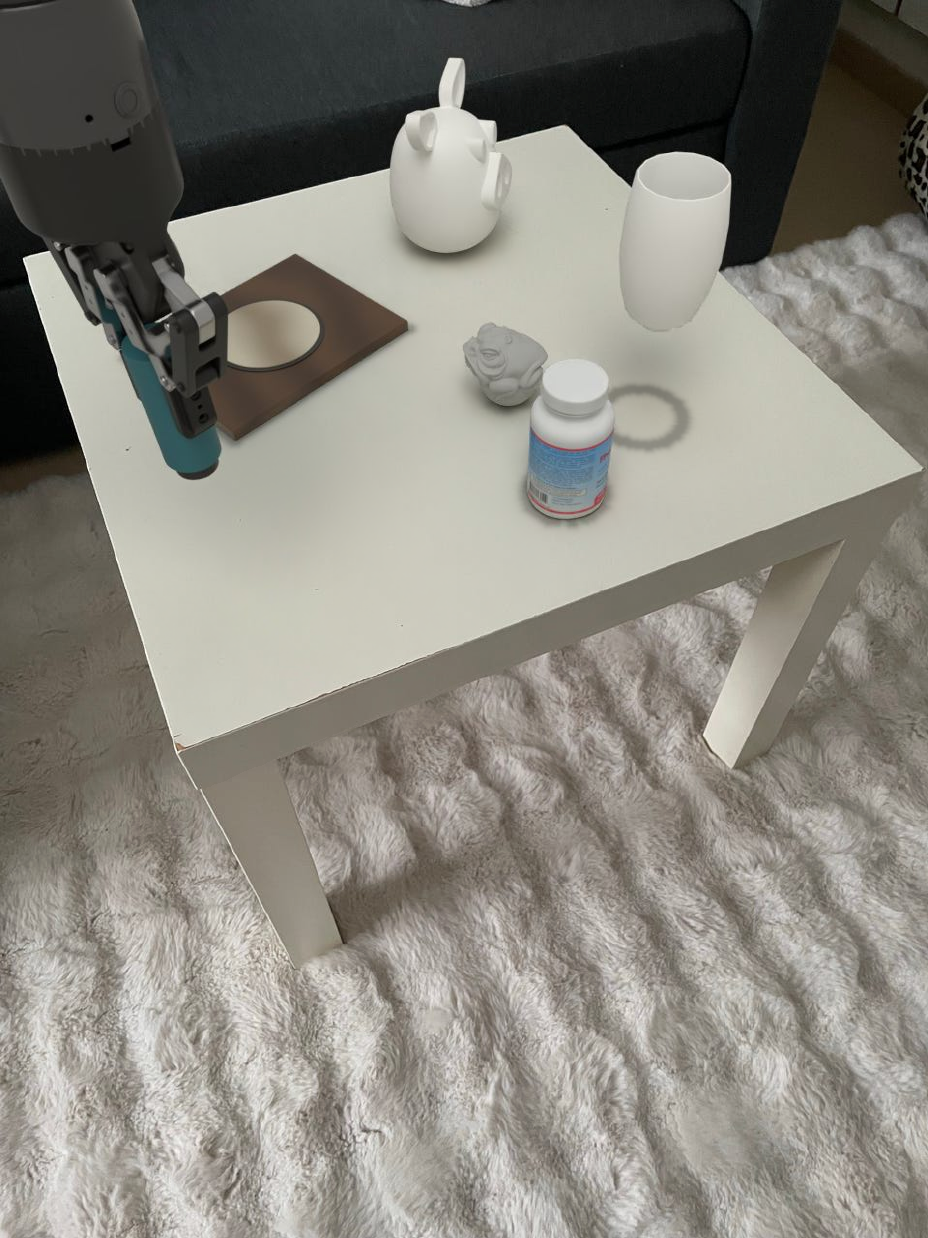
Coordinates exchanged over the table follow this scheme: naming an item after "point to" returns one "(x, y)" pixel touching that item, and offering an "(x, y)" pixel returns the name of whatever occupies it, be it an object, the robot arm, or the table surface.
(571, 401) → the pill bottle
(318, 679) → the table surface
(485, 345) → the grey sculpted head figurine
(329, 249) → the table surface
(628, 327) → the table surface
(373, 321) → the wooden board with hole
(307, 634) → the table surface
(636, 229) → the cup
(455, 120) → the piggy bank
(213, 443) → the teal cylinder
